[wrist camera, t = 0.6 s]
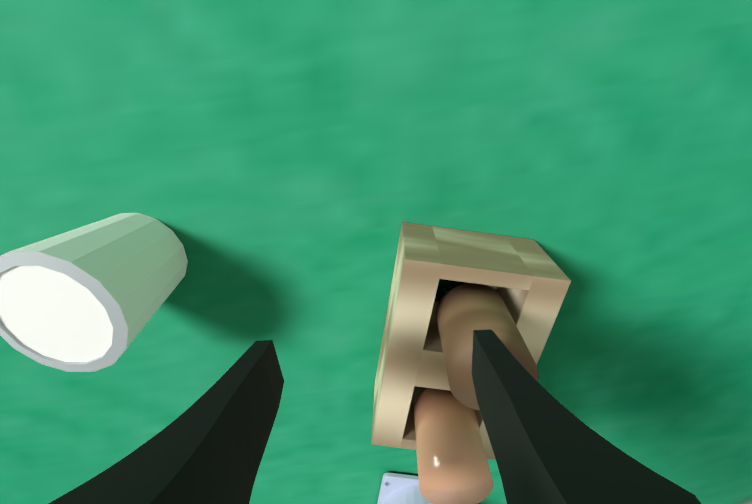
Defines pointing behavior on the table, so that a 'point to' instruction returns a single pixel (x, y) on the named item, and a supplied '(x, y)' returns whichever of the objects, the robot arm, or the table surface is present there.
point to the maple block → (419, 323)
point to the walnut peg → (456, 325)
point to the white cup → (88, 290)
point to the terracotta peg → (449, 450)
